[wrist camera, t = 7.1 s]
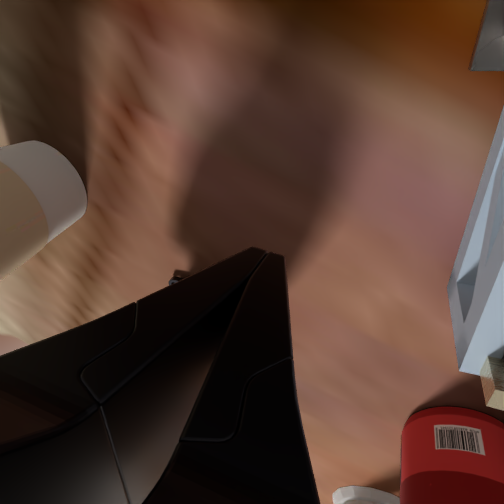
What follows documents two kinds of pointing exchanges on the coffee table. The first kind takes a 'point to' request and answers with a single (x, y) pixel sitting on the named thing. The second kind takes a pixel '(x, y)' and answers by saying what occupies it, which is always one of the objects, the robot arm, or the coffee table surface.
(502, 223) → the gate
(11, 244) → the coffee cup
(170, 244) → the coffee table surface
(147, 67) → the coffee table surface
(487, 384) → the latch stile
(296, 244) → the coffee table surface
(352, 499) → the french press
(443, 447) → the canned food
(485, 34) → the hinge post
